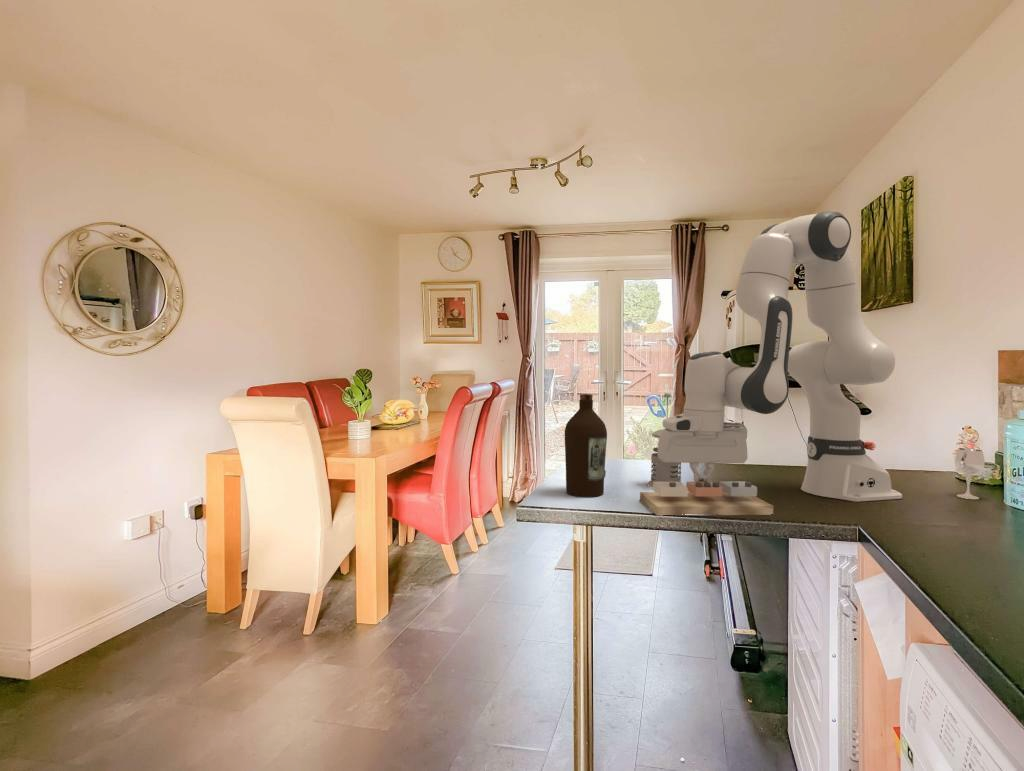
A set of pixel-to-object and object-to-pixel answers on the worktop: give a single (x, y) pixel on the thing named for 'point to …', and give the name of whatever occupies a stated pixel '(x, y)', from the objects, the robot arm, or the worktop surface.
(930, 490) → the worktop surface
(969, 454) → the wineglass
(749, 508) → the button board
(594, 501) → the worktop surface
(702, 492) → the tile three
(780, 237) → the robot arm
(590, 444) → the olive oil
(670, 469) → the french press
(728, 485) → the tile two
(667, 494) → the tile one
